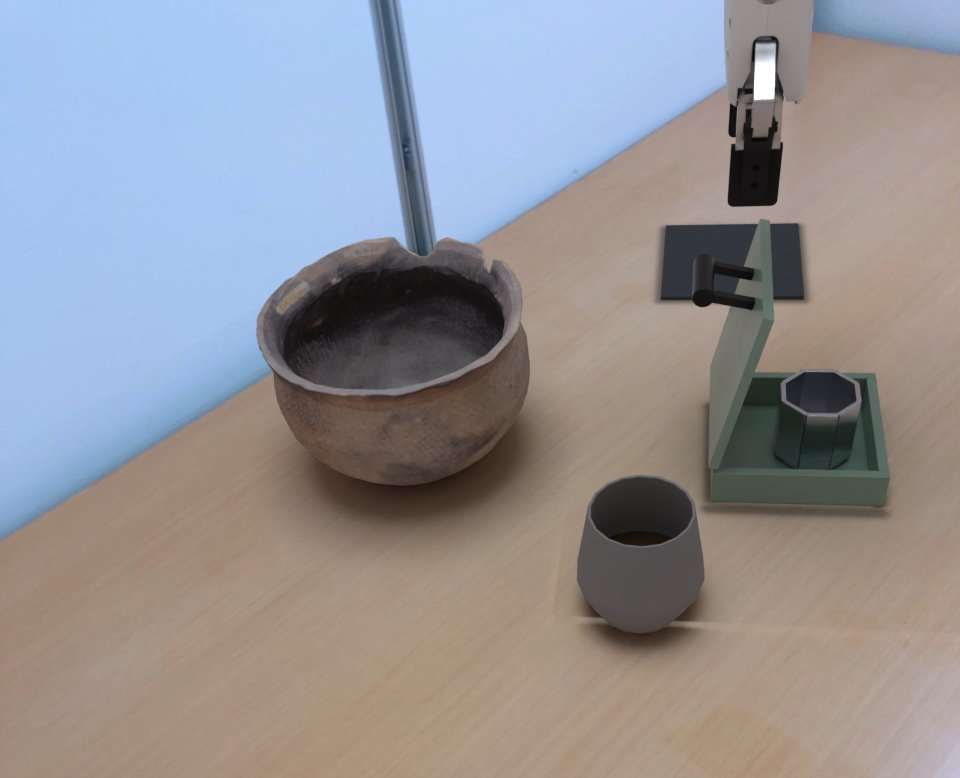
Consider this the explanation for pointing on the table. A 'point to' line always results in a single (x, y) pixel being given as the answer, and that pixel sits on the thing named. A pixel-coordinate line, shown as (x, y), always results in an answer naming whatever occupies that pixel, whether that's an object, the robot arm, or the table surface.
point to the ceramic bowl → (398, 358)
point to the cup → (640, 553)
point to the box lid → (736, 332)
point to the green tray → (767, 479)
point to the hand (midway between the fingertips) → (751, 168)
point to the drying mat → (729, 257)
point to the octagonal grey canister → (816, 419)
